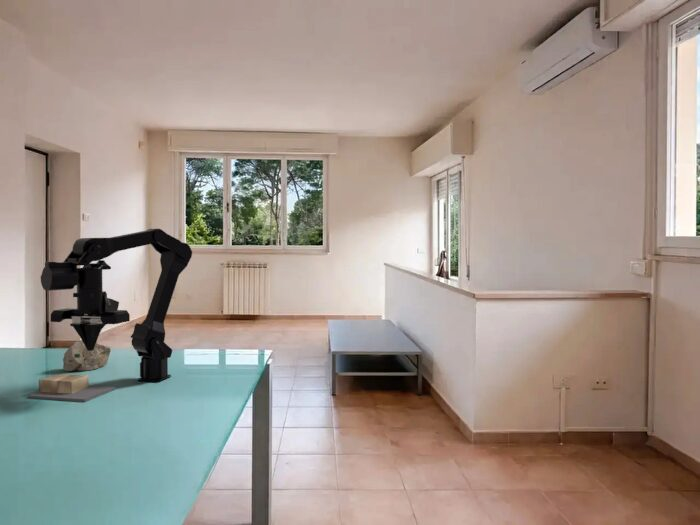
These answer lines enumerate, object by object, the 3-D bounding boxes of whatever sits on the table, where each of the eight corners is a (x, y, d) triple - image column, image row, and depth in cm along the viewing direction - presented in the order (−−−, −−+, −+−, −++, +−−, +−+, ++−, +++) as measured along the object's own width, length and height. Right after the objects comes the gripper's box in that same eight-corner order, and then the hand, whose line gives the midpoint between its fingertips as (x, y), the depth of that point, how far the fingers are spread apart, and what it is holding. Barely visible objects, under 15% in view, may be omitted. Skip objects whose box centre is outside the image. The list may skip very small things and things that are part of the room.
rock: (58, 370, 148) (70, 336, 150) (59, 368, 154) (71, 336, 156) (102, 379, 153) (113, 346, 155) (102, 377, 159) (112, 345, 161)
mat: (115, 389, 133) (115, 387, 133) (84, 401, 122) (84, 399, 122) (61, 386, 136) (61, 383, 136) (27, 397, 125) (27, 395, 125)
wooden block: (88, 375, 132) (57, 373, 134) (71, 381, 126) (38, 379, 128) (88, 387, 132) (57, 385, 134) (71, 393, 127) (38, 391, 128)
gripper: (142, 286, 134) (143, 346, 134) (81, 285, 138) (82, 343, 138) (114, 289, 123) (115, 354, 123) (48, 288, 127) (49, 351, 128)
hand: (90, 350), depth 129 cm, fingers closed
